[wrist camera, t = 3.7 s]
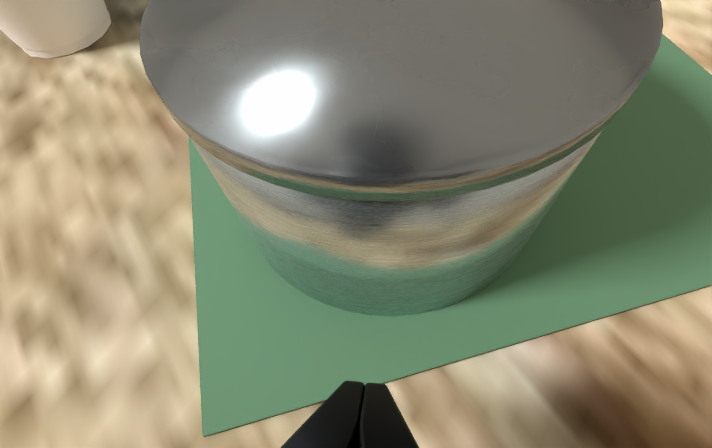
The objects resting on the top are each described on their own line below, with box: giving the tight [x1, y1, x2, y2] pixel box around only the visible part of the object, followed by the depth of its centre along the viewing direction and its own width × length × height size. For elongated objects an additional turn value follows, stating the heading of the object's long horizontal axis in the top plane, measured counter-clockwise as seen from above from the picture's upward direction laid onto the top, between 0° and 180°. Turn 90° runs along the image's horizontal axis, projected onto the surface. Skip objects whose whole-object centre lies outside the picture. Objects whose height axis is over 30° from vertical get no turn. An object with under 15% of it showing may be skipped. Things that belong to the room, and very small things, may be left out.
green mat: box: [189, 34, 712, 437], centre depth 24 cm, size 35×28×1 cm
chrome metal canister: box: [139, 0, 663, 316], centre depth 15 cm, size 14×14×9 cm
